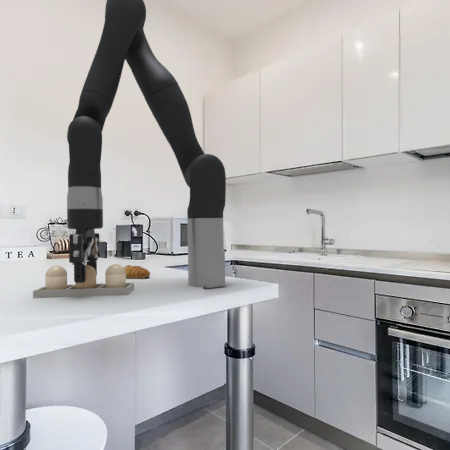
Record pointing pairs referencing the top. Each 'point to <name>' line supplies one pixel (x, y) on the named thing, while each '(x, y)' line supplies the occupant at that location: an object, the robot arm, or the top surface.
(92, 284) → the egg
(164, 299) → the top surface
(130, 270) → the pastry
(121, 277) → the egg
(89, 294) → the carton
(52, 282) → the egg
